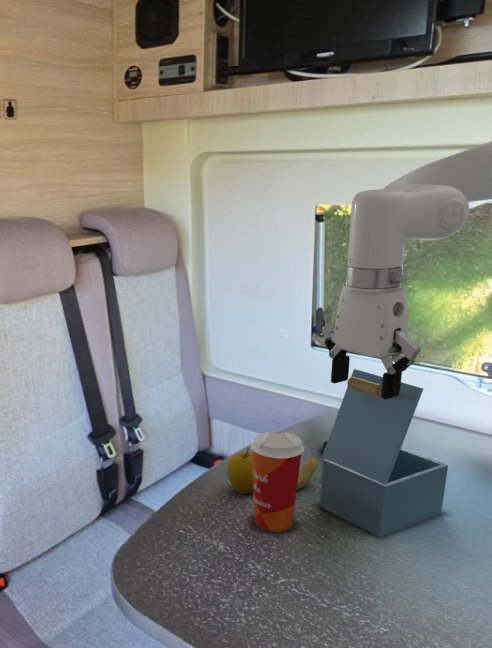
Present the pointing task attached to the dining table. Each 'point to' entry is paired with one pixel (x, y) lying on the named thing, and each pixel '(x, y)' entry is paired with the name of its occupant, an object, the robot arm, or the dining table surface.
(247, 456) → the apple
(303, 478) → the banana
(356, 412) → the lid
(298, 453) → the coffee cup
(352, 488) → the chest
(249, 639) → the dining table surface
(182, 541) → the dining table surface
